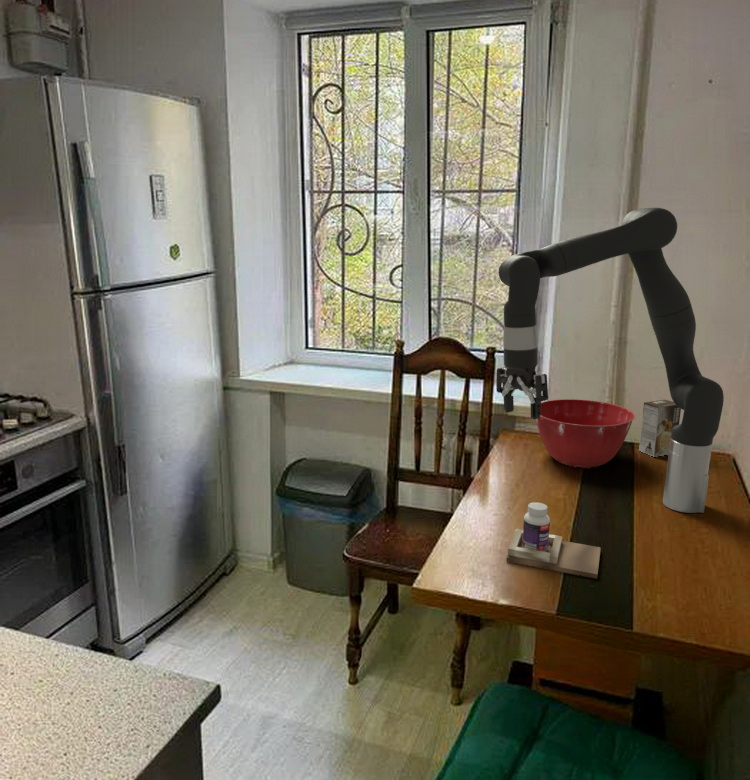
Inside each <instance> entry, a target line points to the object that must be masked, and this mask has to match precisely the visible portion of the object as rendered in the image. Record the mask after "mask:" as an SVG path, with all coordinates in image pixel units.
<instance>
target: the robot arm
mask: <svg viewBox="0 0 750 780" xmlns="http://www.w3.org/2000/svg"><path fill="white" fill-rule="evenodd" d="M677 231H678V222H677V218H676V216H675V215H674V213H672V212H671V211H669V210H668V209H666V208H662V207H648V208H638V209H634V210H631V211H630V212H628V213H627V214H626V215H625V217H623V219H622V222H621V225H619V226H616V227H613V228H608V229H605V230H602V231H597V232H591V233H587V234H583V235H579V236H574V237H570V238H567V239H564V240H561V241H558V242H554V243H552V244H549V245H547V246H545V247H542V248H537V249H533V250H528V251H524V252H519V253H515V254H513V255H510V256H508V257H506V258H505V259H504V260H503V261H501V263H500V264H499V267H498V276H499V277H498V278H499V279H500V281H501V282H502V283H503V284H504V285H505V286H507V287H509V290H508V300H507V301H506V302H505V303H504V305H503V335H502V337H503V340H502V341H503V342H502V343H503V366H501V367H498V368H497V369H496V392H497V393H500V394H501V395H502V397H503V409H504V412H505V413H511V412H514V409H515V408H514V407H515V406H514V405H515V404H514V395H513V394H514V393H515V390H519V391H521V392H523V393H524V395H526V396H527V397H528V399H529V401H530V419H532V420H536V419H538V418H539V417H540V416H541V402H545V401H549V388H548V387H549V386H548V375H547V374H546V373H542V374H538V373H537V371H536V368H537V366H538V364H539V360H538V359H539V356H538V355H539V354H538V352H539V351H538V350H539V349H538V343H539V342H538V330H537V309H536V305H537V301H538V298H539V297H538V296H539V290H540V283H541V279H543V278H551V277H559V276H561V275H565V274H568V273H571V272H573V271H577V270H579V269H580V270H581V269H582V268H585V267H588V266H592V265H594V264H598V263H599V262H603V261H606V260H609V259H612V258H616V257H619V256H620V257H621V256H623V255H624V256H625V255H628V256H629V259H630V261H631V263H632V265H633V268H634V270H635V273H636V275H637V279H638V283H639V285H640V289H641V292H642V296H643V298H644V302H645V305H646V309H647V313H648V316H649V319H650V323H651V326H652V329H653V332H654V335H655V338H656V341H657V345H658V347H659V349H660V354H661V357H662V359H663V362H664V367H665V372H666V377H667V378H666V379H667V384H668V389H669V393H670V397H671V400H672V402H674V403H675V404H676V405H677V406H678V407H679V408H681V410H683V415H682V419H681V422H680V423H679V425H676V426H674V427H673V429H672V433H671V441H670V448H669V455H667V457H668V458H667V463H666V464H667V465H666V475H665V481H664V490H663V494H662V504H663V505H664V506H665V507H667V508H668V509H671V510H673V511H676V512H680V513H688V514H695V513H703V514H704V513H705V507H706V499H707V493H708V486H709V479H710V475H709V468H710V461H711V457H712V455H711V454H712V448H713V441H714V438H715V436H716V435H717V434H718V430H719V428H720V422H721V416H722V412H723V407H724V399H725V397H724V396H725V395H724V390H723V388H722V387H721V385H720V383H718V382H716V381H715V380H712V379H710V378H708V377H705V376H703V374H702V373H701V371H700V369H699V366H698V363H697V360H696V357H695V353H694V344H695V339H696V338H695V337H696V330H697V329H696V327H697V324H696V316H695V314H694V310H693V307H692V302H691V299H690V296H689V294H688V292H687V291H686V290H685V288H684V286H683V285H682V283H681V282H680V281H679V279H678V278H677V277H676V275H675V274H674V273H673V271H672V270H671V269H670V267H669V265H668V264H667V261H666V258H665V257H664V252H663V249H662V248H664V247H666V246H668V245H669V244H670V243H671V242H673V240H674V238H675V237H676V235H677Z"/></svg>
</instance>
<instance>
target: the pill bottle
mask: <svg viewBox="0 0 750 780" xmlns="http://www.w3.org/2000/svg"><path fill="white" fill-rule="evenodd" d="M550 525H551V518H550V516H549V515H548V506H547V505H546V504H545V503H542V502H530V503H528V505H527V512H526V513H525V514H524V517H523V528H522V530H523V539H522V547H523V548H526V549H532V550H537V551H543V552H546V551H547V549H548V540H549V534H550V528H551V526H550Z"/></svg>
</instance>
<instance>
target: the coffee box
mask: <svg viewBox="0 0 750 780" xmlns="http://www.w3.org/2000/svg"><path fill="white" fill-rule="evenodd" d="M681 412H682V409H681V408H679V407H678V406H677V405H676V404H675V403H674V402H673V400H672V401H671V400H668V399H661V400H653V401H652V400H651V401H646V402H643V410H642V418H641V419H642V420H641V427H640V428H641V429H640V435H639V436H640V439H639V447H638V452H639V451H641V452H643V453H646V454H648V455H650V456H649V457H651V456H653V457H656V458H659V457H658V456H662V457H665V456H664V455H667V456H669V448H670V441H671V433H672V429H673V427H674V426H676V425H680V419H681ZM641 452H640V453H641ZM643 453H642V454H643ZM646 454H645V455H646ZM648 455H647V456H648ZM653 457H652V458H653Z"/></svg>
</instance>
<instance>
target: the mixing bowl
mask: <svg viewBox="0 0 750 780" xmlns="http://www.w3.org/2000/svg"><path fill="white" fill-rule="evenodd" d="M635 416H636V415H635V413H634V412H633V411H632V410H630V409H628V408H626V407H624V406H621V405H616V404H614V403H608V402H604V401H597V400H590V399H577V398H576V399H575V398H570V399H569V398H567V399H566V398H565V399H552V400H545V401H542V402H541V416H540V417H539V418H538V419H535V421H536V422H535V423H536V426H537V430H538V433H539V435H540V438H541V441H542V443H543V446H544V447H545V450H546V452H548V454H549V455H550V456H551V457H552V458H553V459H554V460H556V461H557V462H558V461H559V462H558V463H560V462H561V463H560V464H562V463H563V464H562V465H564V464H567V465H570V466H569V467H571V466H576V467H583V468H582V469H592V468H591V467H595V468H598V467H597V466H599V467H601V466H602V465H605V464H607V463H608V462H610V461H611V460H612V459H613V458H614V457H616V454H617V453H618V452H619V450H620V449H621V447H622V446H623V443H624V442H625V440H626V438H627V435H628V433H629V431H630V429H631V425H632V423H633V421H634V420H635V418H636V417H635ZM567 465H566V466H567ZM600 465H601V466H600ZM576 467H575V468H576Z"/></svg>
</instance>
